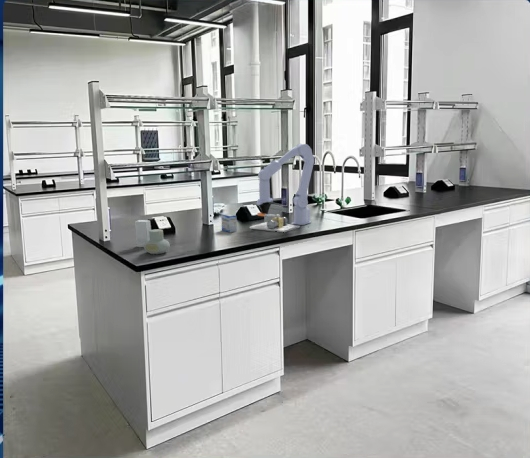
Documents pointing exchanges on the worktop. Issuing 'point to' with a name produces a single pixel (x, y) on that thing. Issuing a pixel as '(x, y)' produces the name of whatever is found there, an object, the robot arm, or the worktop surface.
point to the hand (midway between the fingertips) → (265, 216)
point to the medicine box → (229, 222)
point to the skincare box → (142, 232)
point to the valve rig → (276, 225)
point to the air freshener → (156, 242)
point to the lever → (267, 214)
